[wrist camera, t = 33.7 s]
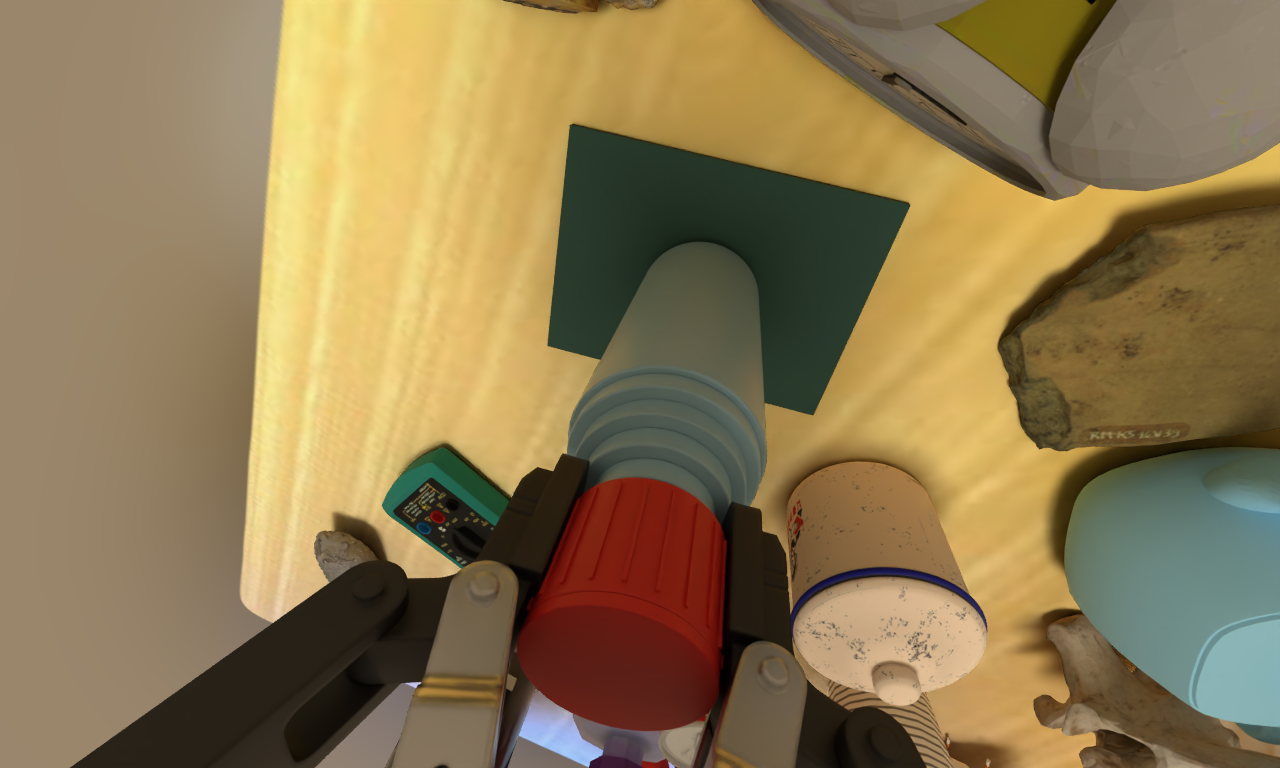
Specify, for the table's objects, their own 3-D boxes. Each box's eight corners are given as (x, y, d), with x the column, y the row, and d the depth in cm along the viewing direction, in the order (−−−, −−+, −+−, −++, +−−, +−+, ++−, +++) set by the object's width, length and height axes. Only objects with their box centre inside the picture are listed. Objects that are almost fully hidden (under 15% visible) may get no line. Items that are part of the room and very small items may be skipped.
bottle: (767, 341, 27) (799, 736, 11) (658, 360, 29) (541, 727, 12) (746, 227, 24) (744, 521, 8) (627, 257, 26) (425, 548, 10)
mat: (812, 411, 30) (813, 415, 30) (549, 343, 31) (547, 346, 31) (908, 203, 24) (911, 204, 23) (572, 123, 24) (569, 124, 24)
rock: (397, 601, 48) (365, 568, 50) (382, 539, 42) (347, 503, 44) (354, 634, 45) (323, 598, 47) (333, 572, 39) (297, 533, 41)
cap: (578, 455, 12) (522, 577, 9) (749, 503, 11) (750, 645, 9) (557, 568, 14) (507, 697, 11) (702, 610, 14) (690, 753, 11)
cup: (914, 609, 37) (1003, 907, 24) (940, 679, 40) (1031, 974, 27) (795, 625, 40) (816, 895, 27) (828, 688, 43) (861, 956, 30)
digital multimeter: (440, 435, 37) (417, 462, 34) (590, 559, 40) (579, 591, 38) (391, 481, 40) (367, 508, 38) (534, 591, 44) (520, 622, 41)
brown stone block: (1002, 442, 29) (1026, 478, 26) (991, 247, 24) (1019, 267, 21) (1523, 363, 22) (1619, 400, 20) (1654, 73, 17) (1805, 73, 15)
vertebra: (1288, 569, 25) (1083, 638, 25) (1543, 854, 19) (1279, 935, 20) (1066, 601, 42) (949, 641, 43) (1168, 753, 37) (1034, 797, 38)
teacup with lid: (761, 476, 33) (765, 646, 23) (914, 437, 30) (994, 619, 20) (821, 596, 38) (845, 781, 28) (959, 575, 34) (1041, 777, 24)
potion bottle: (659, 606, 41) (629, 779, 31) (711, 668, 44) (699, 844, 34) (576, 626, 45) (524, 787, 35) (629, 682, 48) (596, 845, 38)
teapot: (1834, 508, 13) (1518, 827, 21) (1399, 332, 22) (1291, 604, 30) (1214, 544, 17) (1143, 803, 25) (1056, 383, 26) (1040, 611, 34)
